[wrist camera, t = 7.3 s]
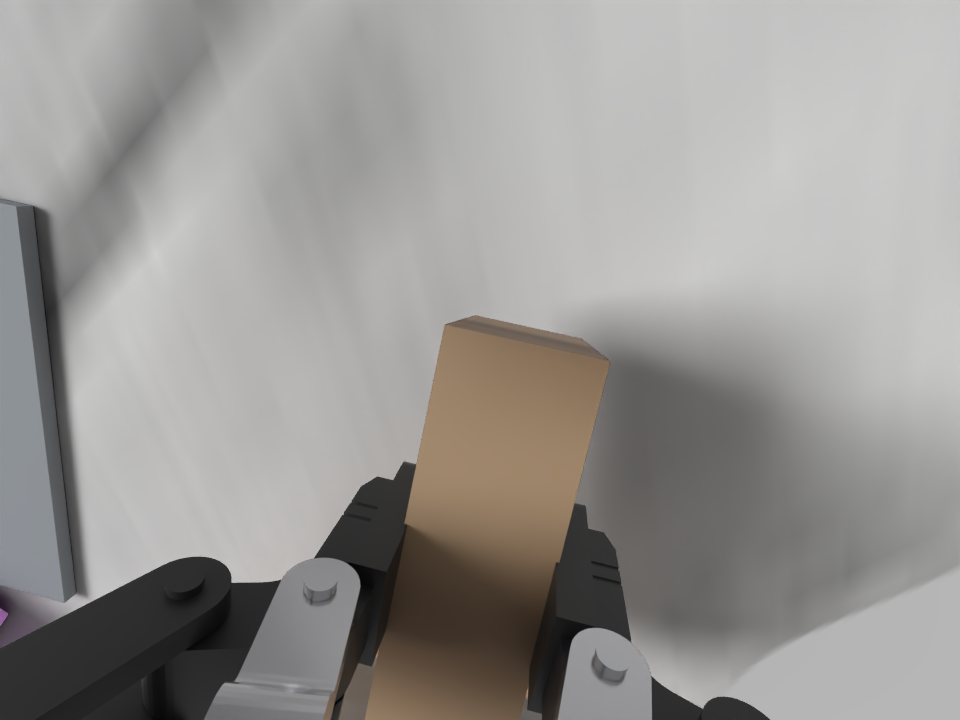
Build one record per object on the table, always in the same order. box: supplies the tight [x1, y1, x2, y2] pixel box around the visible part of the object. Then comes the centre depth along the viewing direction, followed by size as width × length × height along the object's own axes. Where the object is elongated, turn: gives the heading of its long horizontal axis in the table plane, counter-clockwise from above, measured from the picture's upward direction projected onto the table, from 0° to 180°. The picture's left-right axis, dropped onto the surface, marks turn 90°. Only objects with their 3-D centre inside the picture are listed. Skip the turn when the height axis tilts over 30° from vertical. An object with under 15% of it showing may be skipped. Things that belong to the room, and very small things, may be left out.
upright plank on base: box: [340, 315, 610, 720], centre depth 12 cm, size 12×7×5 cm, turn 169°
